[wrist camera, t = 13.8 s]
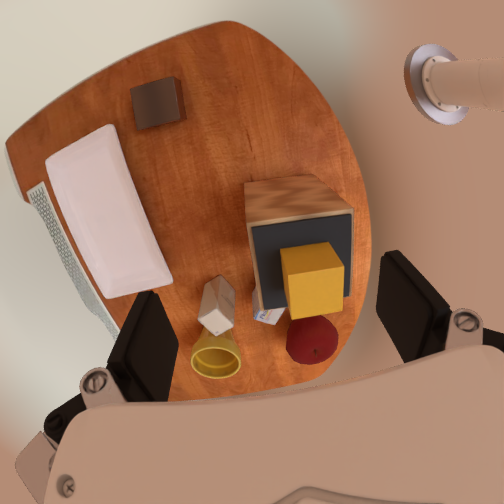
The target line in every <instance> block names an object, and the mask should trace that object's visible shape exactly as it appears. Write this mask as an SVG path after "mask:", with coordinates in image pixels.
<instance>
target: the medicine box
mask: <svg viewBox="0 0 504 504" xmlns="http://www.w3.org/2000/svg"><path fill="white" fill-rule="evenodd" d="M252 304H253V319H255V320H258V321H262V322H265V323H269V324H272V325H275V324H276V322H277V321H278V319H279V318H280V316H281V315H282V313H283V312H284V310H285V308H280V309H273V310H267V311H260V306H259V300H258V294H257V288H256V286H255V288H254V290H253V292H252Z"/></svg>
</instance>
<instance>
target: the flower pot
mask: <svg viewBox="0 0 504 504" xmlns="http://www.w3.org/2000/svg"><path fill="white" fill-rule="evenodd" d="M190 362H191V366H192V367H193V369H194V370H195V371H196V372H197V373H199V374H200V375H202V376H205V377H209V378H216V379H220V378H226V377H230V376H232V375H234V374H235V373H236V372H238V370H239V369H240V367H241V353H240V349H239V347H238V346H237V344H236V343H235V340H234V337H233V334H232V331H231V329H229V330H227V331H225V332H223V333H222V334H220V335H218V336H215V335H213V334H212V333H211V332H210V331H209V330H208V329H207V328H206V327H205V326H204V328H203V330H202V332H201V335H200V337H199V339H198V341H197V342H196V343H195V344H194V345H193V347H192V351H191V358H190Z"/></svg>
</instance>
